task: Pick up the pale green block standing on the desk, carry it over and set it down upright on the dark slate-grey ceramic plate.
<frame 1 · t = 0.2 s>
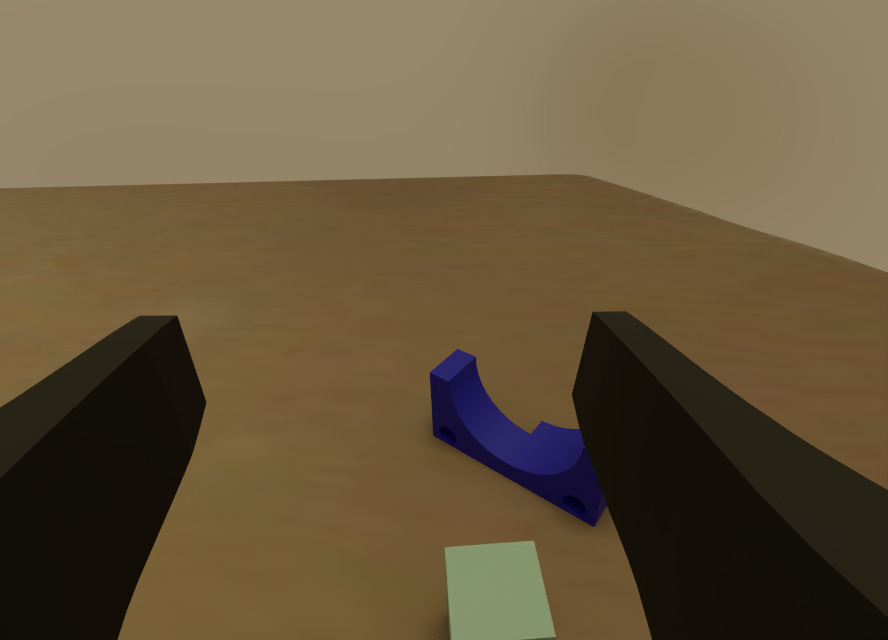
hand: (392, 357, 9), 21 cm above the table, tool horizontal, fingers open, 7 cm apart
cable clip: (523, 458, 35), on the table
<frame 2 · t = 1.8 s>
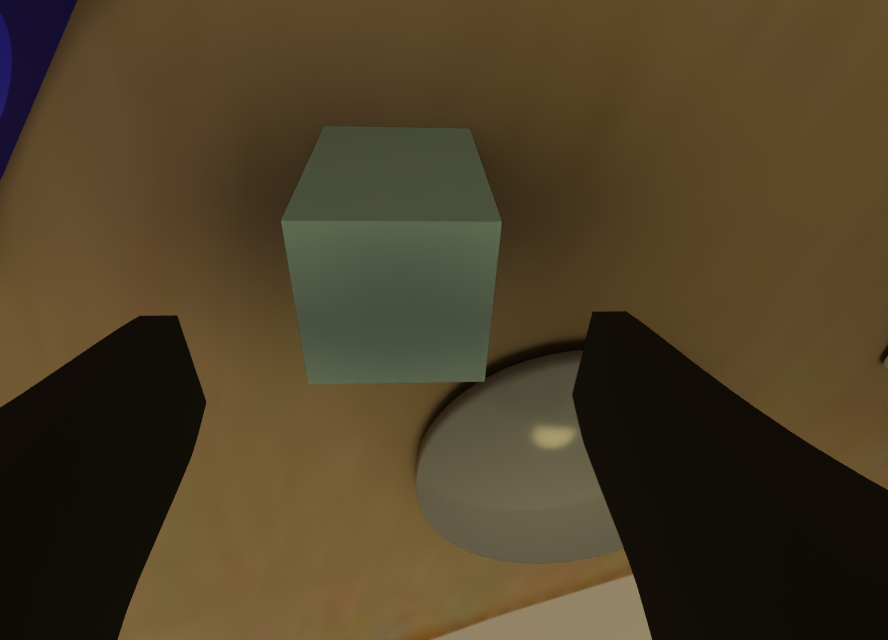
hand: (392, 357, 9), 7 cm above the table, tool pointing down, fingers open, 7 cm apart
slate plate: (561, 453, 23), on the table
pale green block: (398, 195, 15), on the table
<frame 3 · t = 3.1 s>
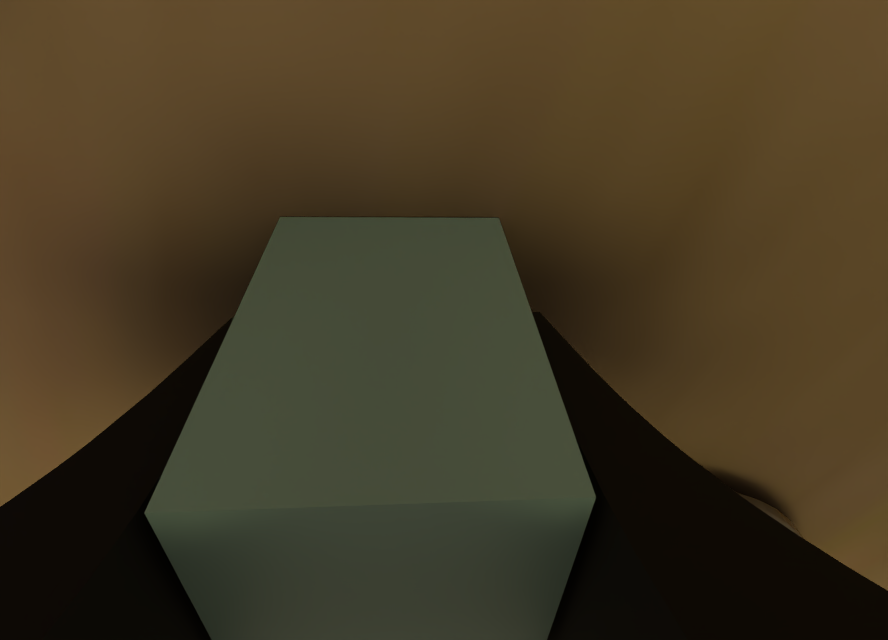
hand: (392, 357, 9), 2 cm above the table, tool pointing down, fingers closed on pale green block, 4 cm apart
slate plate: (600, 584, 18), on the table
pale green block: (393, 306, 11), on the table, touching gripper
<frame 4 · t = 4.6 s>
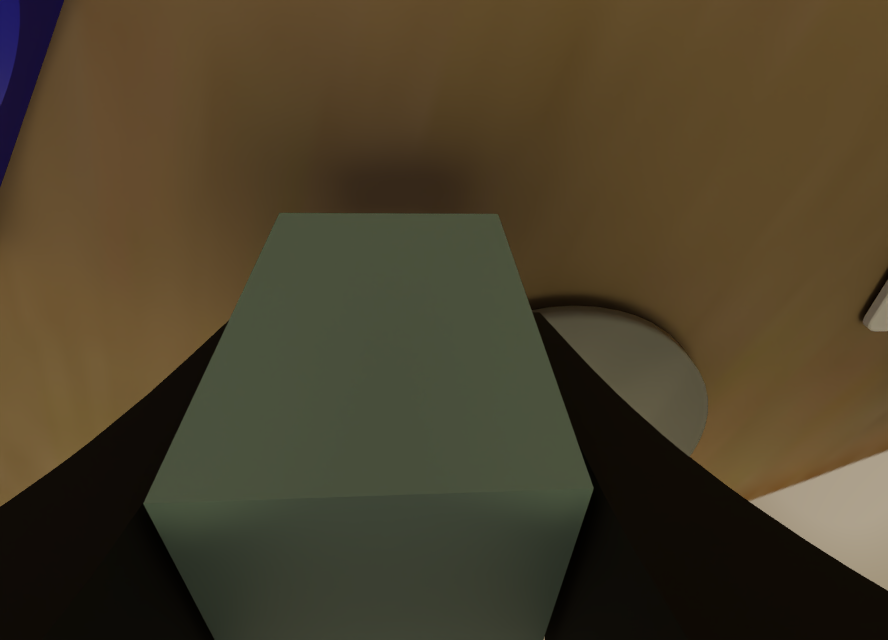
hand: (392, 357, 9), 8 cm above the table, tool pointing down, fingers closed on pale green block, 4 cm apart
slate plate: (543, 418, 23), on the table
pale green block: (393, 303, 11), point 7 cm above the table, touching gripper
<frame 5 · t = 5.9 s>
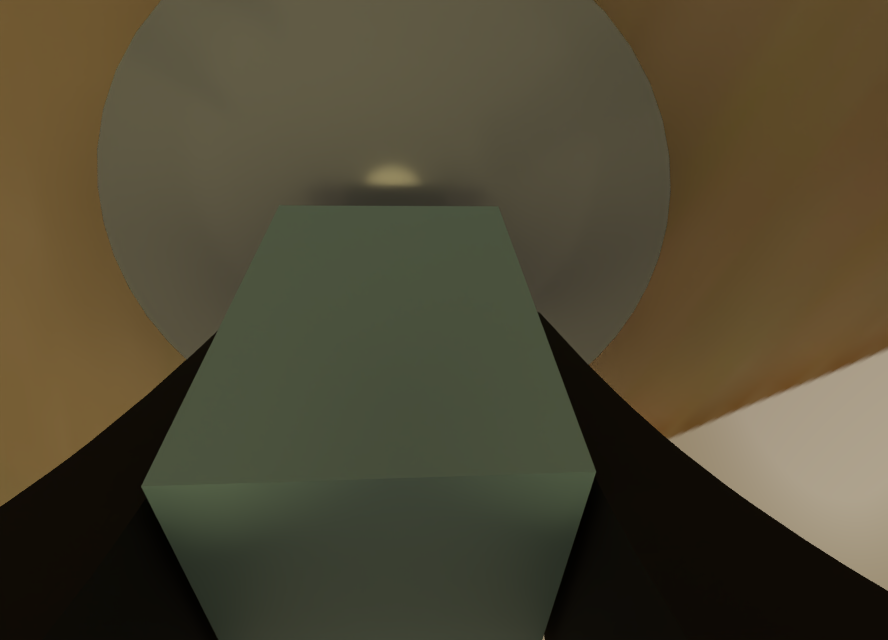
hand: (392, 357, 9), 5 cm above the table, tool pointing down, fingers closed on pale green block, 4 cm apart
slate plate: (397, 228, 13), on the table
pale green block: (393, 297, 11), point 4 cm above the table, touching gripper
when the fingers open (4 cm above the table, at t = 6.5 s): pale green block drops 1 cm, resting on slate plate.
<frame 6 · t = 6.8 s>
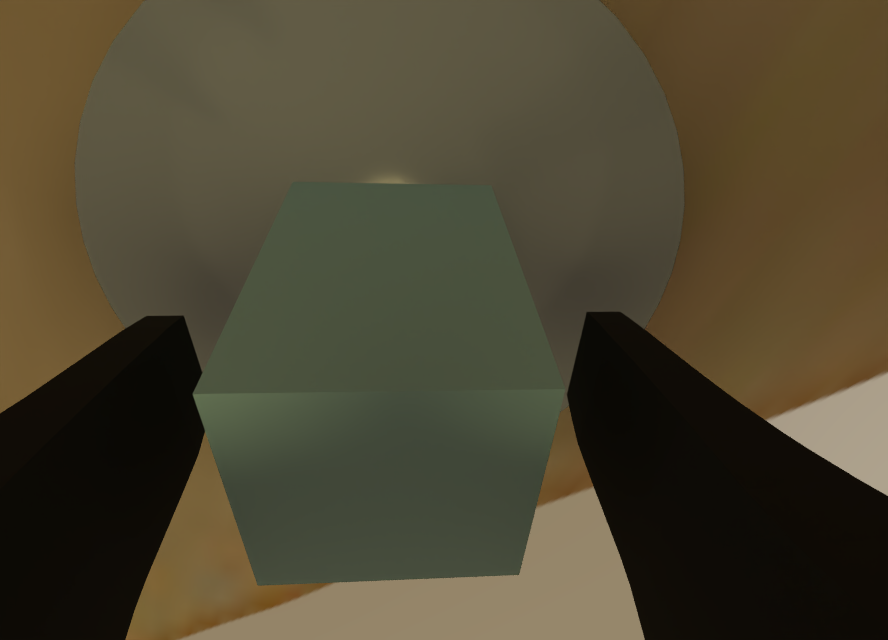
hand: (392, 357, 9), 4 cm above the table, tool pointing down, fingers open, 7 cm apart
slate plate: (395, 243, 13), on the table
pale green block: (394, 269, 12), point 1 cm above the table, touching slate plate
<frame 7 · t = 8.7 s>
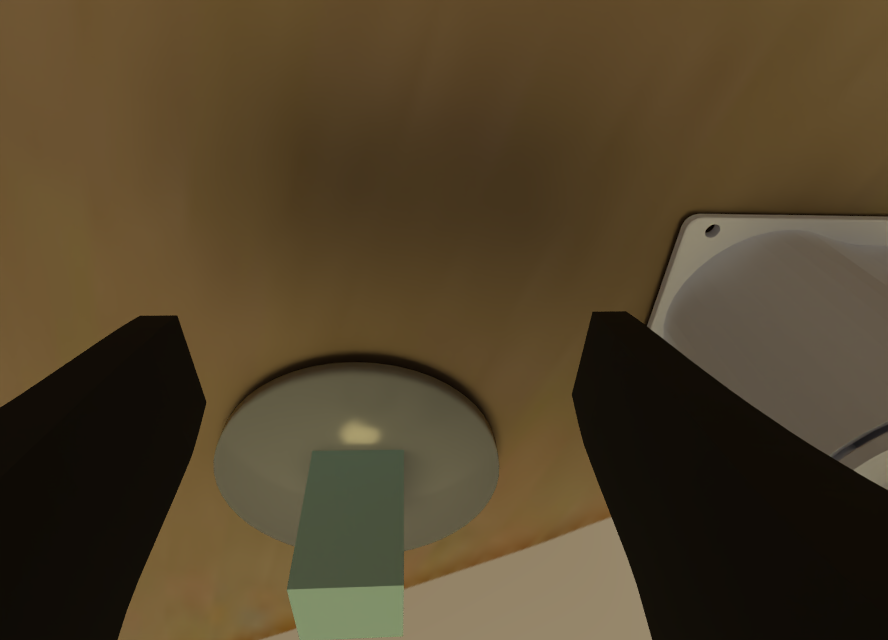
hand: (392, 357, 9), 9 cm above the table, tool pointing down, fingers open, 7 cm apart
slate plate: (362, 454, 25), on the table
pale green block: (360, 478, 24), point 1 cm above the table, touching slate plate
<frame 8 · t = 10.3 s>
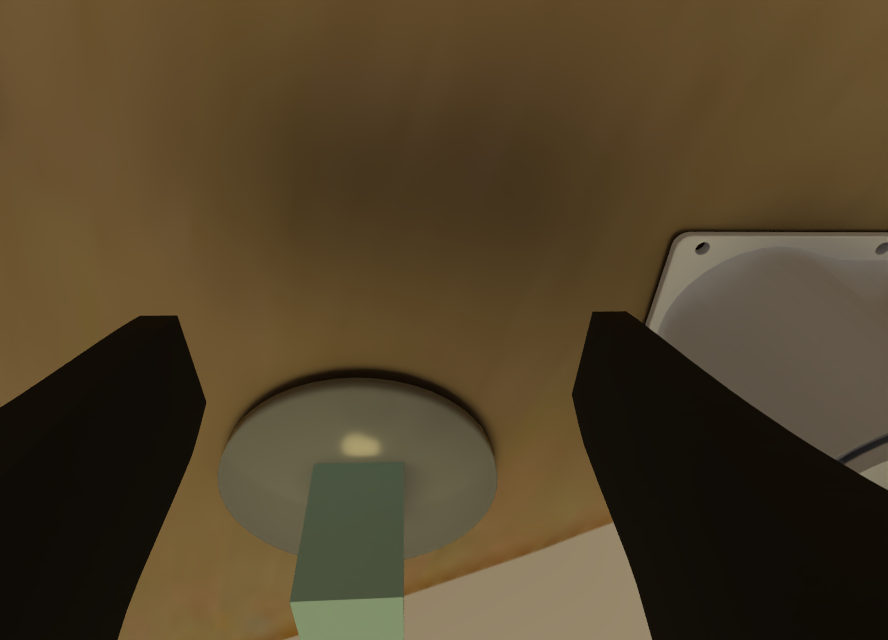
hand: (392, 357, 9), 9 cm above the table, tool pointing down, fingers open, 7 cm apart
slate plate: (363, 465, 26), on the table
pale green block: (361, 489, 24), point 1 cm above the table, touching slate plate
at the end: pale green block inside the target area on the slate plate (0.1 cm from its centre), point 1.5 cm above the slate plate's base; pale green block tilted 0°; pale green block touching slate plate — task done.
